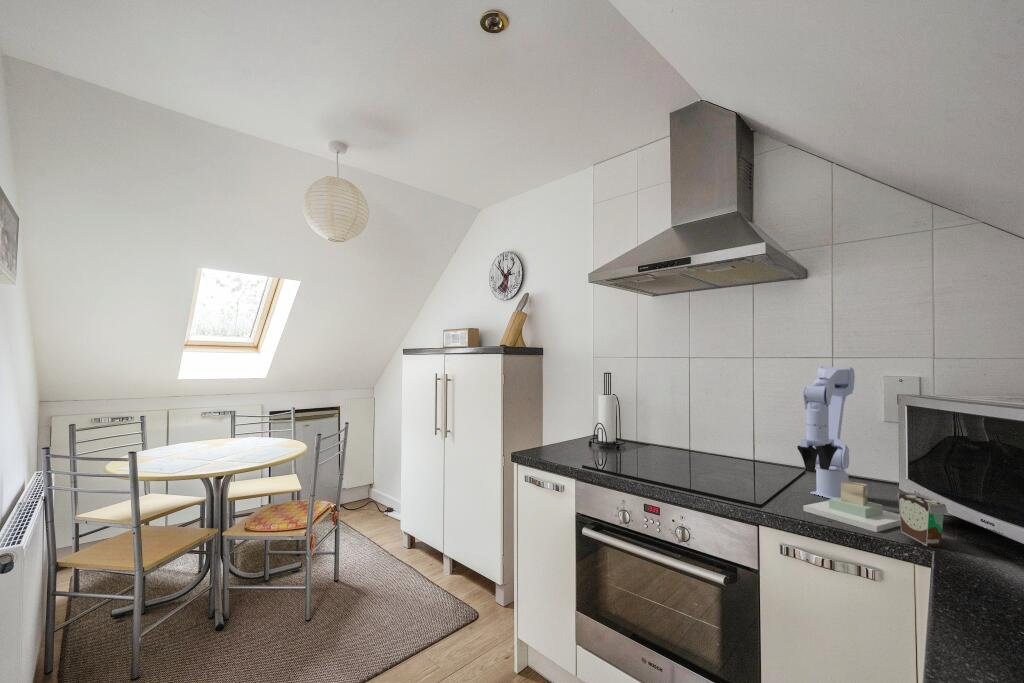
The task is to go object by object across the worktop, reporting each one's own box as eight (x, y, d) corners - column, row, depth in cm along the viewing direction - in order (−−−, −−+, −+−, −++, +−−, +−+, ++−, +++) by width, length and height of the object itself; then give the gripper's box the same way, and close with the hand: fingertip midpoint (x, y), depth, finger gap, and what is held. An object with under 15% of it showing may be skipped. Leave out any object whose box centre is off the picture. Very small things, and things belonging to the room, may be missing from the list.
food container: (962, 551, 103) (961, 507, 103) (931, 548, 104) (930, 504, 105) (925, 532, 115) (924, 492, 115) (897, 529, 116) (896, 490, 117)
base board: (838, 503, 138) (837, 490, 138) (911, 522, 122) (910, 507, 122) (803, 510, 130) (803, 496, 130) (876, 532, 114) (876, 516, 114)
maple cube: (845, 498, 130) (845, 480, 130) (867, 502, 126) (867, 484, 126) (840, 501, 127) (840, 483, 127) (862, 505, 123) (862, 487, 123)
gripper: (817, 423, 145) (817, 465, 144) (789, 423, 138) (789, 468, 137) (841, 425, 138) (841, 470, 137) (814, 426, 132) (814, 473, 131)
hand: (817, 470), depth 137 cm, fingers open, 7 cm apart
